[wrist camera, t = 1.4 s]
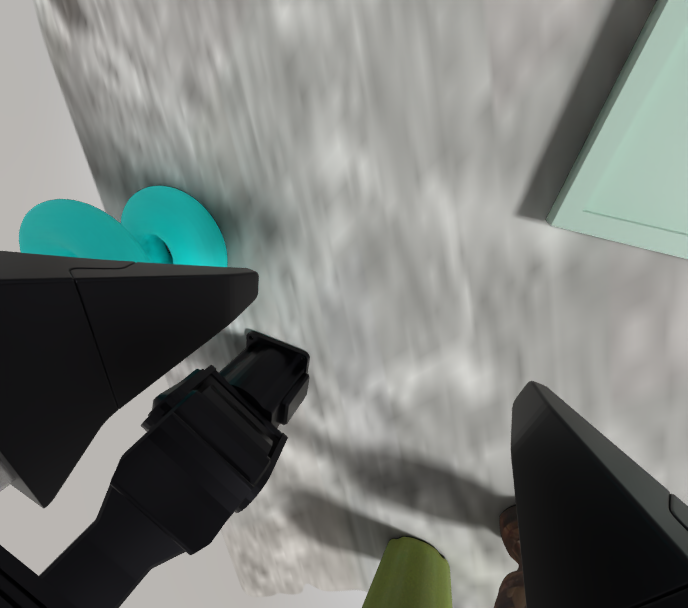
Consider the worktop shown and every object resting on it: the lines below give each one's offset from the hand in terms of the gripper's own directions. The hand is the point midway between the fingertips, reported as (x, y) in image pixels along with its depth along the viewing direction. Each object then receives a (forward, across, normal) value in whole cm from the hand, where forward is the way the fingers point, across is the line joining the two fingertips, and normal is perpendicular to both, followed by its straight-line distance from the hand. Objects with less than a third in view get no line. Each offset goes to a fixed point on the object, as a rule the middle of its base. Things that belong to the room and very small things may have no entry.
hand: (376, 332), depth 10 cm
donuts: (+12, -20, -8) cm, 25 cm away
